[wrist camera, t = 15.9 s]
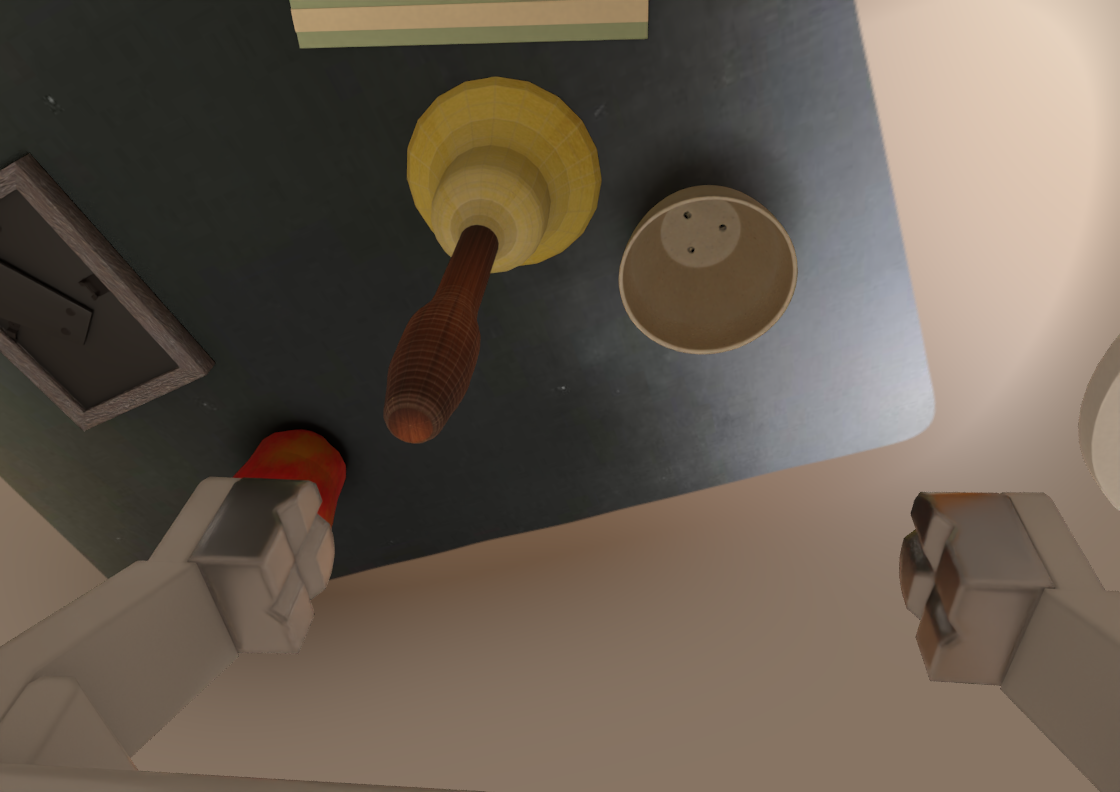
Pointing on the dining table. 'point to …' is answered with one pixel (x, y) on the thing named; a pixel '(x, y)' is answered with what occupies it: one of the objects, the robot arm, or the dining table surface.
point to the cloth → (464, 21)
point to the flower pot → (707, 271)
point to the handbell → (483, 226)
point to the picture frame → (81, 308)
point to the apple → (300, 464)
